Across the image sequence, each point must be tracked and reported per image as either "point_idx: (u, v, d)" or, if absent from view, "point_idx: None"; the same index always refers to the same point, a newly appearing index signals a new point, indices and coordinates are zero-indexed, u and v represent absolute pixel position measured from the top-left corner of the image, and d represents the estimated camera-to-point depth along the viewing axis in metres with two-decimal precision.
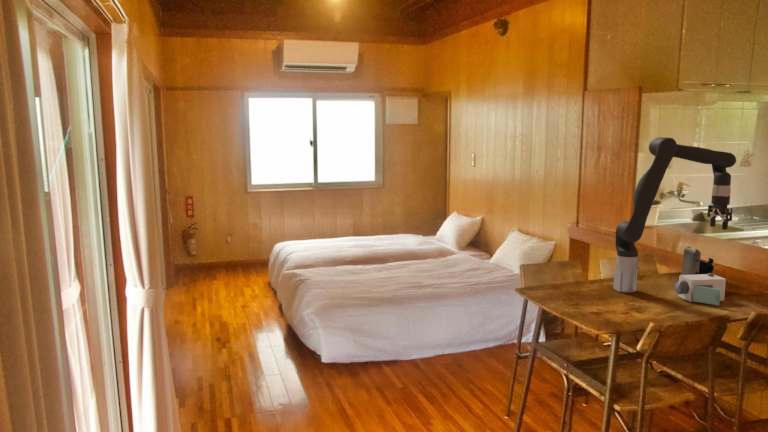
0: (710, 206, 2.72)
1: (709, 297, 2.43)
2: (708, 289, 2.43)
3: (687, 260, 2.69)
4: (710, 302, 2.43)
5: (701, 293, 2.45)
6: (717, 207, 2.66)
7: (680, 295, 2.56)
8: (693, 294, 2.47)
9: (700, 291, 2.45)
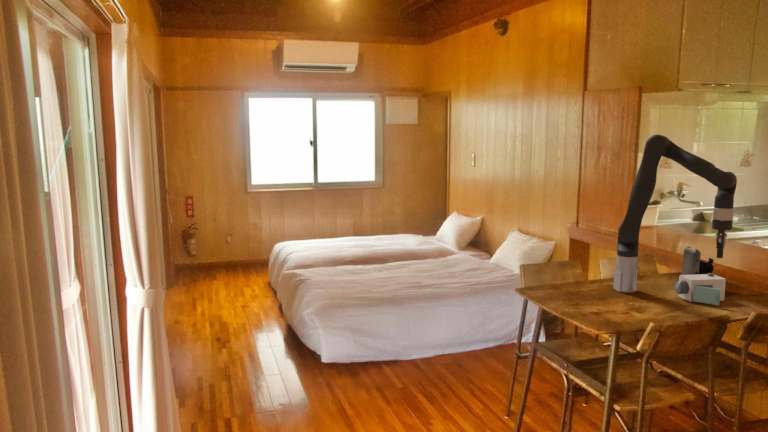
0: None
1: (709, 297, 2.43)
2: (708, 289, 2.43)
3: (687, 260, 2.69)
4: (710, 302, 2.43)
5: (701, 293, 2.45)
6: None
7: (680, 295, 2.56)
8: (693, 294, 2.47)
9: (700, 291, 2.45)
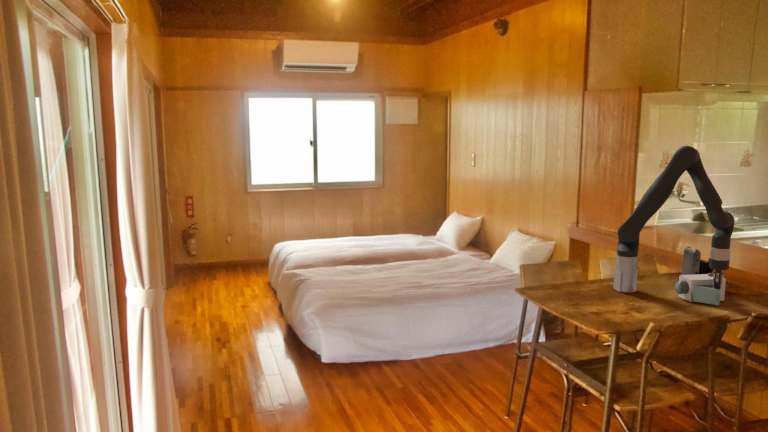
0: None
1: (709, 297, 2.43)
2: (708, 289, 2.43)
3: (687, 260, 2.69)
4: (710, 302, 2.43)
5: (701, 293, 2.45)
6: None
7: (680, 295, 2.56)
8: (693, 294, 2.47)
9: (700, 291, 2.45)
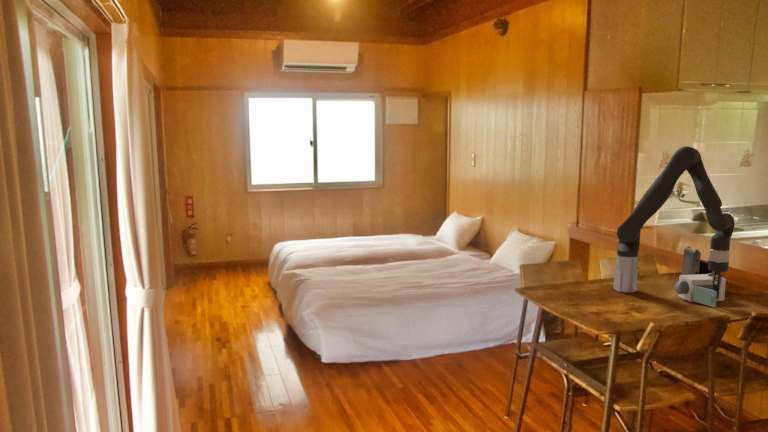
0: None
1: (706, 298, 2.42)
2: (705, 290, 2.42)
3: (687, 260, 2.69)
4: (707, 303, 2.41)
5: (699, 293, 2.44)
6: None
7: (680, 295, 2.56)
8: (692, 294, 2.47)
9: (698, 291, 2.45)
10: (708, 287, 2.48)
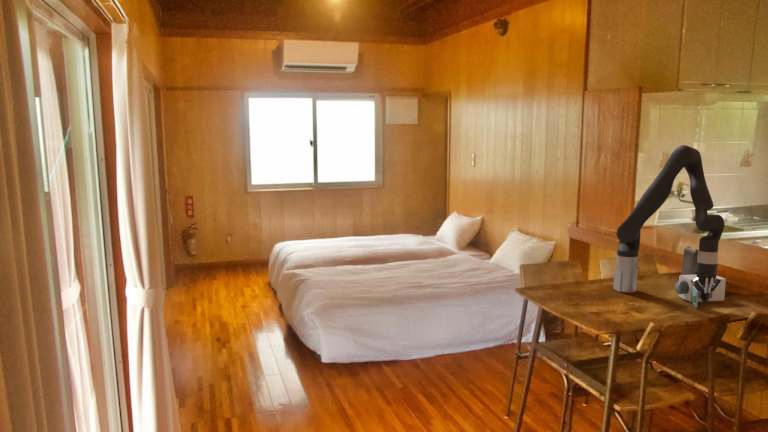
0: None
1: None
2: (694, 290, 2.42)
3: (687, 260, 2.69)
4: (694, 303, 2.42)
5: (693, 293, 2.44)
6: None
7: (680, 295, 2.56)
8: (692, 294, 2.47)
9: (693, 291, 2.45)
10: None
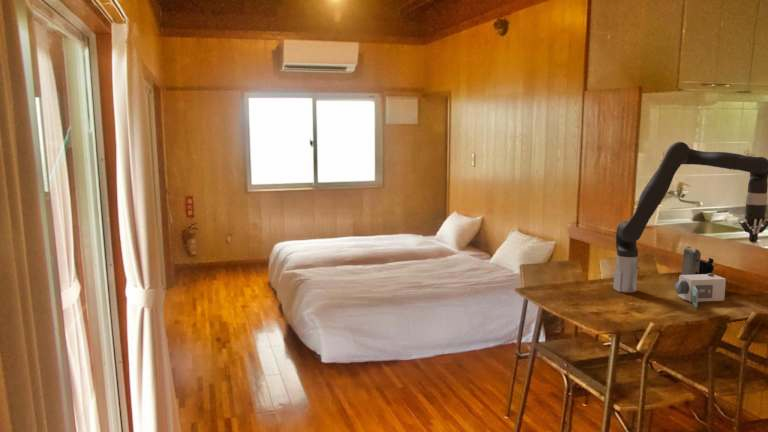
0: None
1: None
2: (694, 290, 2.42)
3: (687, 260, 2.69)
4: (694, 303, 2.42)
5: (693, 293, 2.44)
6: None
7: (680, 295, 2.56)
8: (692, 294, 2.47)
9: (693, 291, 2.45)
10: (708, 287, 2.48)
